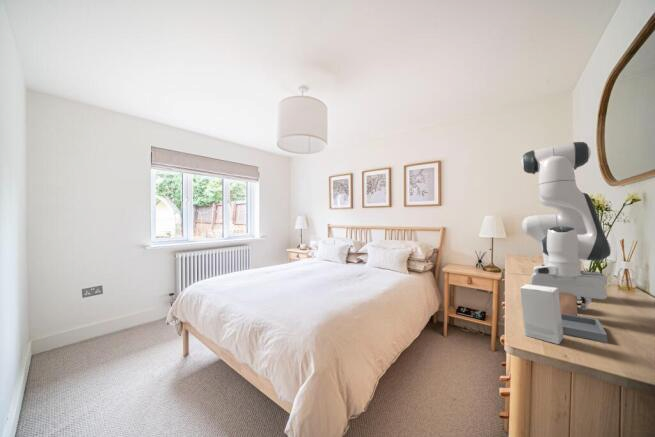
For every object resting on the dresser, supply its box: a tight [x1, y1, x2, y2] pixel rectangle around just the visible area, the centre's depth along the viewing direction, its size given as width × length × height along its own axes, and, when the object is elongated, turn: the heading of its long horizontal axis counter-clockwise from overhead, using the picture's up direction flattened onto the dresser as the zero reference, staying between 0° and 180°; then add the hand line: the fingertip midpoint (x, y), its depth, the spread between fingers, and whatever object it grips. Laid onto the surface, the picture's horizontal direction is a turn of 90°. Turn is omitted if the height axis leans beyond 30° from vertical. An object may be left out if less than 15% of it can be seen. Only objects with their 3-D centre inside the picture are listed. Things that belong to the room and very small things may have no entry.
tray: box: [561, 314, 609, 344], centre depth 79 cm, size 14×14×2 cm
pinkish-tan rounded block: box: [559, 293, 578, 316], centre depth 88 cm, size 5×5×9 cm
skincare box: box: [519, 283, 564, 345], centre depth 74 cm, size 8×7×16 cm
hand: (566, 306), depth 88 cm, fingers open, 8 cm apart
